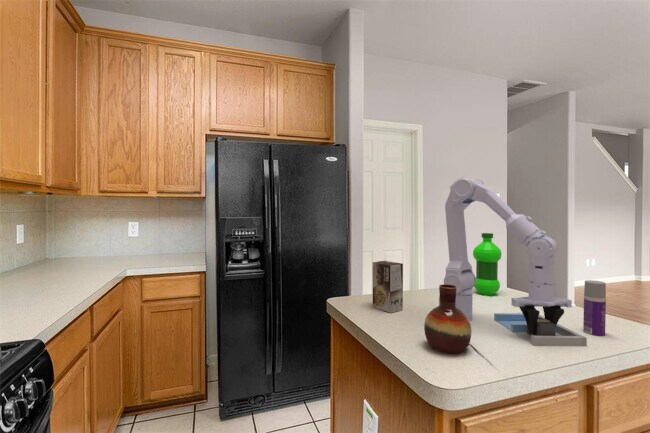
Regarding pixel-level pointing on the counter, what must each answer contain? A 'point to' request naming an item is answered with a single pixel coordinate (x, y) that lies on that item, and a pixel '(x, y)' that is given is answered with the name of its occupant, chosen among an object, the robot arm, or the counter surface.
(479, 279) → the plastic bottle
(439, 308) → the vase
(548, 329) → the dark striped block
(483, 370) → the counter surface
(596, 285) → the container
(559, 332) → the board
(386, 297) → the coffee box
